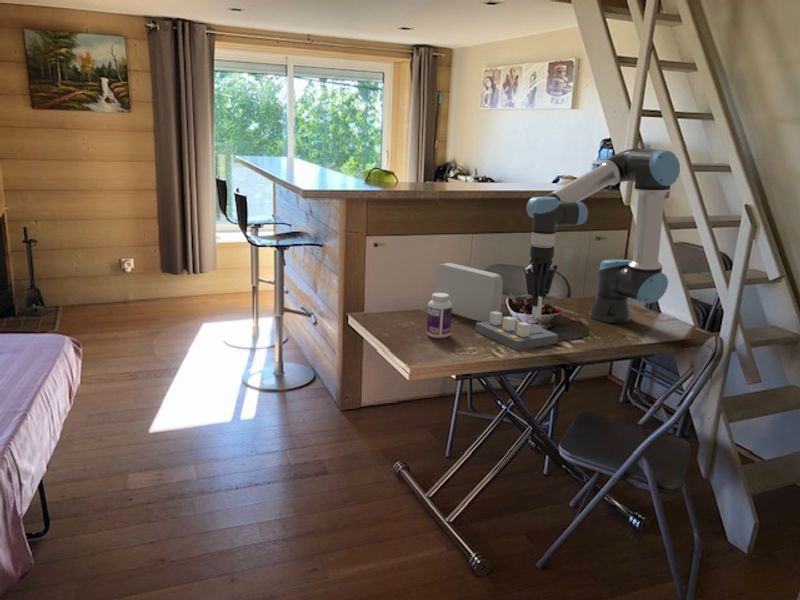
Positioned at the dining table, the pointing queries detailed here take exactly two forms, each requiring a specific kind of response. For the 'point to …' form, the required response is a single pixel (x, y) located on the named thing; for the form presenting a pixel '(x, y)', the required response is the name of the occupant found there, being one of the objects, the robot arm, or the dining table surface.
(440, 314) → the pill bottle
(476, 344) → the dining table surface
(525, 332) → the switch
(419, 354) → the dining table surface
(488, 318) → the rounded white slab
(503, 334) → the switch board
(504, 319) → the switch middle
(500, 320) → the switch
